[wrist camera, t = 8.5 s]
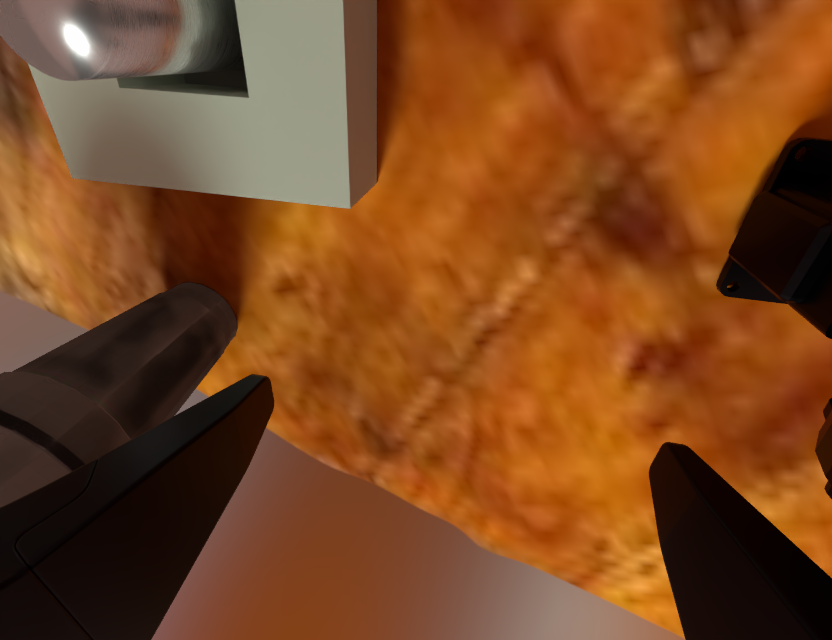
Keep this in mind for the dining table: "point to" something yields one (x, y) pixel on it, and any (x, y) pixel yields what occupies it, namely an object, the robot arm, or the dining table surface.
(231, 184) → the socket block
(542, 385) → the dining table surface
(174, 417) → the robot arm
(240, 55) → the peg
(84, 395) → the beverage cup
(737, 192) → the dining table surface
